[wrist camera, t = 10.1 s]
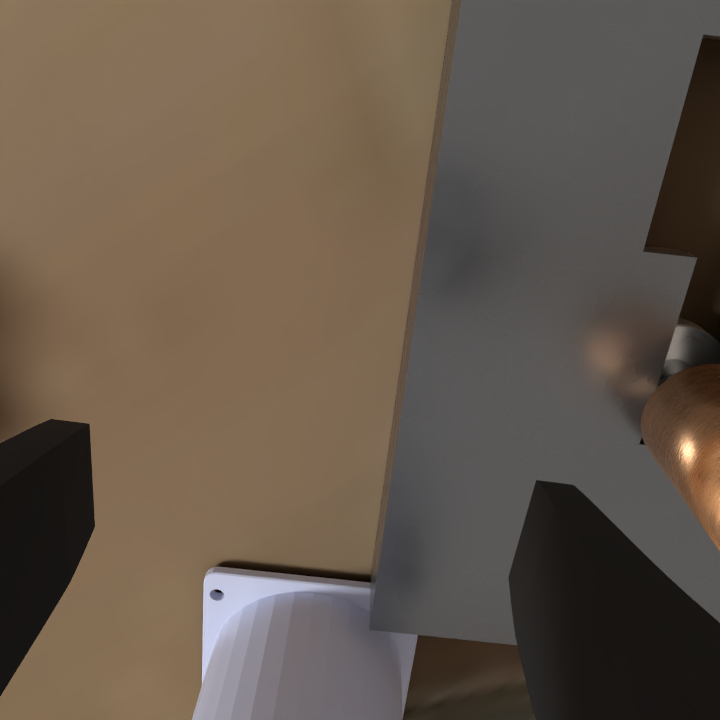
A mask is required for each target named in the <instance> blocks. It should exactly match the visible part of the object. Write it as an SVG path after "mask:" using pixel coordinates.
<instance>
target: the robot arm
mask: <svg viewBox="0 0 720 720" xmlns="http://www.w3.org/2000/svg"><path fill="white" fill-rule="evenodd" d="M94 527H95V520H94V502H93V483H92V464H91V445H90V427H89V424H86V423H78V422H70V421H62V420H54V419H50V420H48V421H46V422H43V423H41V424H39V425H37V426H34V427H32V428H30V429H28V430H26V431H24V432H22V433H20V434H18V435H16V436H14V437H12V438H10V439H8V440H6V441H4V442H3V443H1V444H0V696H1V694H2V693H3V691H4V689H5V688H6V686H7V685H8V683H9V681H10V680H11V678H12V676H13V675H14V673H15V672H16V670H17V668H18V667H19V665H20V664H21V662H22V660H23V659H24V657H25V655H26V654H27V652H28V651H29V649H30V647H31V646H32V644H33V643H34V641H35V639H36V638H37V636H38V635H39V633H40V631H41V630H42V628H43V626H44V625H45V623H46V621H47V620H48V618H49V617H50V615H51V613H52V612H53V610H54V608H55V607H56V605H57V603H58V602H59V600H60V598H61V597H62V595H63V593H64V592H65V590H66V588H67V587H68V585H69V583H70V581H71V579H72V577H73V575H74V573H75V571H76V568H77V566H78V564H79V562H80V560H81V558H82V555H83V553H84V551H85V548H86V546H87V544H88V541H89V539H90V537H91V534H92V532H93V530H94ZM508 579H509V588H510V598H511V608H512V616H513V623H514V631H515V637H516V642H517V646H518V650H519V654H520V658H521V662H522V666H523V671H524V675H525V679H526V683H527V687H528V691H529V695H530V699H531V702H532V706H533V710H534V714H535V718H536V720H720V623H719V622H718V621H717V620H716V619H715V618H714V617H713V616H711V615H710V614H709V613H708V612H707V611H706V610H705V609H703V608H702V607H701V606H700V605H699V604H698V603H697V602H695V601H694V600H693V599H692V598H691V597H690V596H689V595H687V594H686V593H685V592H684V591H683V590H682V589H681V588H680V587H679V586H678V585H677V584H676V583H674V582H673V581H672V580H671V579H670V578H669V577H668V576H667V575H666V574H665V573H664V572H663V571H662V570H661V569H660V568H658V567H657V566H656V565H655V564H654V563H653V562H652V561H651V560H650V559H649V558H648V557H647V556H646V555H645V554H644V553H643V552H642V551H641V550H640V549H639V548H638V547H637V546H636V545H635V544H634V543H633V542H632V541H631V540H630V539H629V538H628V537H627V536H626V535H625V534H624V533H623V532H622V531H621V530H620V529H619V528H618V527H617V526H616V525H615V524H614V523H613V522H612V521H611V520H610V519H609V518H608V517H607V516H606V515H605V514H604V513H603V512H602V511H601V510H600V509H599V508H598V507H597V506H596V505H595V504H594V503H593V502H592V501H591V500H590V499H589V498H588V497H587V496H585V495H584V494H583V493H582V492H581V491H580V490H579V489H578V488H577V487H576V486H574V485H572V484H564V483H556V482H548V481H540V480H536V482H535V486H534V489H533V493H532V496H531V500H530V503H529V507H528V510H527V514H526V517H525V521H524V524H523V528H522V531H521V535H520V538H519V542H518V545H517V549H516V552H515V556H514V559H513V563H512V566H511V570H510V573H509V577H508ZM215 589H218V590H221V591H222V592H223V593H218V592H215V591H214V590H215ZM369 623H370V583H369V582H360V581H350V580H341V579H331V578H322V577H312V576H303V575H293V574H284V573H274V572H265V571H255V570H246V569H236V568H227V567H213V568H211V569H209V570H208V571H207V573H206V576H205V579H204V596H203V656H202V687H201V691H200V694H199V697H198V701H197V704H196V708H195V711H194V714H193V718H192V720H403V714H404V708H405V703H406V698H407V692H408V687H409V681H410V676H411V671H412V665H413V660H414V654H415V649H416V644H417V638H418V635H413V634H404V633H394V632H385V631H375V630H369Z"/></svg>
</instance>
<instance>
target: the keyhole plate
mask: <svg viewBox="0 0 720 720" xmlns="http://www.w3.org/2000/svg"><path fill="white" fill-rule="evenodd" d="M702 38H708V39H717V40H720V0H452V6H451V13H450V21H449V28H448V35H447V42H446V49H445V56H444V63H443V70H442V77H441V84H440V91H439V98H438V105H437V112H436V119H435V127H434V134H433V141H432V148H431V155H430V162H429V169H428V176H427V183H426V190H425V197H424V204H423V211H422V218H421V225H420V233H419V240H418V247H417V254H416V261H415V268H414V275H413V282H412V289H411V296H410V303H409V310H408V317H407V324H406V331H405V338H404V346H403V353H402V360H401V367H400V374H399V381H398V388H397V395H396V402H395V409H394V416H393V423H392V430H391V437H390V444H389V452H388V459H387V466H386V473H385V480H384V487H383V494H382V501H381V508H380V515H379V522H378V529H377V536H376V543H375V550H374V558H373V565H372V572H371V583H370V623H369V630H375V631H385V632H394V633H404V634H413V635H423V636H433V637H442V638H452V639H461V640H471V641H480V642H490V643H500V644H509V645H517V642H516V637H515V631H514V623H513V616H512V608H511V598H510V588H509V579H508V577H509V573H510V570H511V566H512V563H513V559H514V556H515V552H516V549H517V545H518V542H519V538H520V535H521V531H522V528H523V524H524V521H525V517H526V514H527V510H528V507H529V503H530V500H531V496H532V493H533V489H534V486H535V482H536V480H540V481H548V482H556V483H564V484H572V485H574V486H576V487H577V488H578V489H579V490H580V491H581V492H582V493H583V494H584V495H585V496H587V497H588V498H589V499H590V500H591V501H592V502H593V503H594V504H595V505H596V506H597V507H598V508H599V509H600V510H601V511H602V512H603V513H604V514H605V515H606V516H607V517H608V518H609V519H610V520H611V521H612V522H613V523H614V524H615V525H616V526H617V527H618V528H619V529H620V530H621V531H622V532H623V533H624V534H625V535H626V536H627V537H628V538H629V539H630V540H631V541H632V542H633V543H634V544H635V545H636V546H637V547H638V548H639V549H640V550H641V551H642V552H643V553H644V554H645V555H646V556H647V557H648V558H649V559H650V560H651V561H652V562H653V563H654V564H655V565H656V566H657V567H658V568H660V569H661V570H662V571H663V572H664V573H665V574H666V575H667V576H668V577H669V578H670V579H671V580H672V581H673V582H674V583H676V584H677V585H678V586H679V587H680V588H681V589H682V590H683V591H684V592H685V593H686V594H687V595H689V596H690V597H691V598H692V599H693V600H694V601H695V602H697V603H698V604H699V605H700V606H701V607H702V608H703V609H705V610H706V611H707V612H708V613H709V614H710V615H711V616H713V617H714V618H715V619H716V620H717V621H718V622H719V623H720V551H719V550H718V548H717V547H716V545H715V544H714V542H713V541H712V540H711V538H710V537H709V535H708V534H707V533H706V531H705V530H704V528H703V527H702V525H701V524H700V523H699V521H698V520H697V518H696V517H695V515H694V514H693V513H692V511H691V510H690V508H689V507H688V506H687V504H686V503H685V501H684V500H683V498H682V497H681V496H680V494H679V493H678V491H677V490H676V488H675V487H674V486H673V484H672V483H671V481H670V480H669V479H668V477H667V476H666V474H665V473H664V471H663V470H662V469H661V467H660V466H659V464H658V463H657V461H656V460H655V459H654V457H653V456H652V454H651V453H650V452H649V450H648V449H647V447H646V445H645V443H644V441H643V438H642V434H641V416H642V413H643V409H644V407H645V405H646V403H647V401H648V399H649V398H650V396H651V395H652V393H653V392H654V391H655V390H656V389H657V386H658V383H659V379H660V376H661V373H662V370H663V367H664V363H665V360H666V357H667V354H668V350H669V347H670V344H671V341H672V338H673V334H674V331H675V328H676V325H677V322H678V318H679V315H680V312H681V309H682V306H683V302H684V299H685V296H686V293H687V290H688V286H689V283H690V280H691V277H692V273H693V270H694V267H695V264H696V261H697V257H695V256H694V255H692V254H690V253H688V252H687V251H685V250H678V249H670V248H661V247H652V246H645V243H646V239H647V235H648V232H649V228H650V225H651V221H652V217H653V214H654V210H655V207H656V203H657V199H658V196H659V192H660V189H661V185H662V181H663V178H664V174H665V171H666V167H667V163H668V160H669V156H670V153H671V149H672V145H673V142H674V138H675V135H676V131H677V127H678V124H679V120H680V117H681V113H682V109H683V106H684V102H685V99H686V95H687V91H688V88H689V84H690V81H691V77H692V73H693V70H694V66H695V63H696V59H697V55H698V52H699V48H700V45H701V41H702Z"/></svg>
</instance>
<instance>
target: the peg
mask: <svg viewBox="0 0 720 720" xmlns="http://www.w3.org/2000/svg"><path fill="white" fill-rule="evenodd" d="M641 434H642V438H643V441H644V443H645V445H646V447H647V449H648V450H649V452H650V453H651V454H652V456H653V457H654V459H655V460H656V461H657V463H658V464H659V466H660V467H661V469H662V470H663V471H664V473H665V474H666V476H667V477H668V479H669V480H670V481H671V483H672V484H673V486H674V487H675V488H676V490H677V491H678V493H679V494H680V496H681V497H682V498H683V500H684V501H685V503H686V504H687V506H688V507H689V508H690V510H691V511H692V513H693V514H694V515H695V517H696V518H697V520H698V521H699V523H700V524H701V525H702V527H703V528H704V530H705V531H706V533H707V534H708V535H709V537H710V538H711V540H712V541H713V542H714V544H715V545H716V547H717V548H718V550H719V551H720V343H719V342H718V341H717V340H716V339H715V338H714V337H712V336H711V335H710V334H709V333H707V332H706V331H705V330H704V329H702V328H701V327H700V326H698V325H697V324H695V323H694V322H692V321H690V320H687V319H684V318H681V317H679V318H678V322H677V325H676V328H675V331H674V334H673V338H672V341H671V344H670V347H669V350H668V354H667V357H666V360H665V363H664V367H663V370H662V373H661V376H660V379H659V383H658V386H657V389H656V390H655V391H654V392H653V393H652V395H651V396H650V398H649V399H648V401H647V403H646V405H645V407H644V409H643V413H642V416H641Z"/></svg>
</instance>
